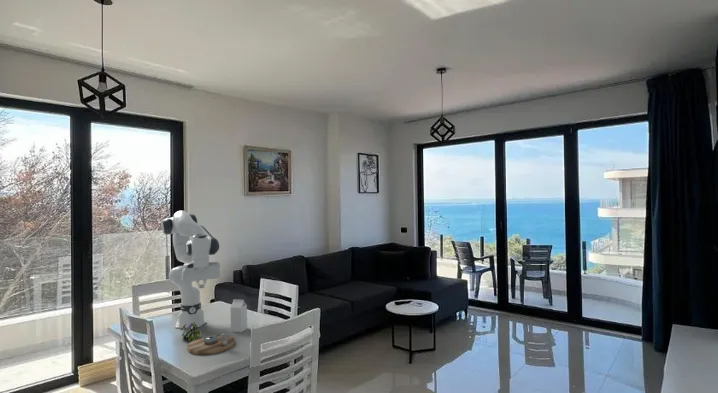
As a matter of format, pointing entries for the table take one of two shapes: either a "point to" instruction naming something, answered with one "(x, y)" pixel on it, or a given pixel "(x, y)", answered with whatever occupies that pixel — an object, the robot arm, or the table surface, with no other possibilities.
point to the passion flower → (190, 329)
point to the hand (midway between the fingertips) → (201, 288)
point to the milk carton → (238, 316)
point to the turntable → (202, 349)
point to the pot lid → (211, 340)
